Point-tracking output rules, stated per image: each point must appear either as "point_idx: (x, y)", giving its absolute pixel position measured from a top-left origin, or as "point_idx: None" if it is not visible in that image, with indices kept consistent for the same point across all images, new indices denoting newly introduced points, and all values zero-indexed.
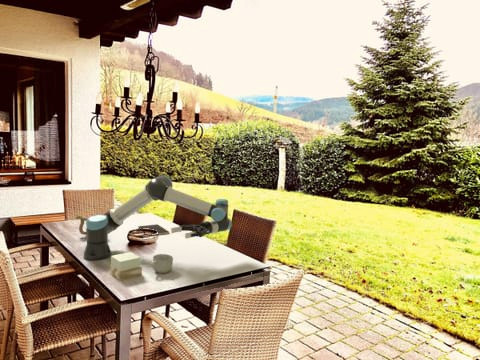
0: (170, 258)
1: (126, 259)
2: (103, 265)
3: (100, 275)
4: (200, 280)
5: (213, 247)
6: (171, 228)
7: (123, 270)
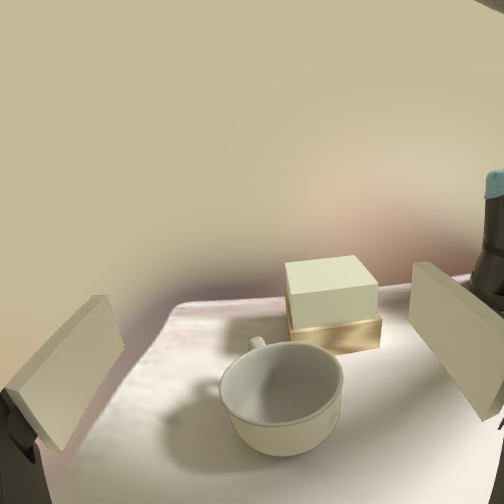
0: (286, 430)
1: (296, 271)
2: None
3: None
4: (69, 471)
5: None
6: (423, 264)
7: (288, 296)
